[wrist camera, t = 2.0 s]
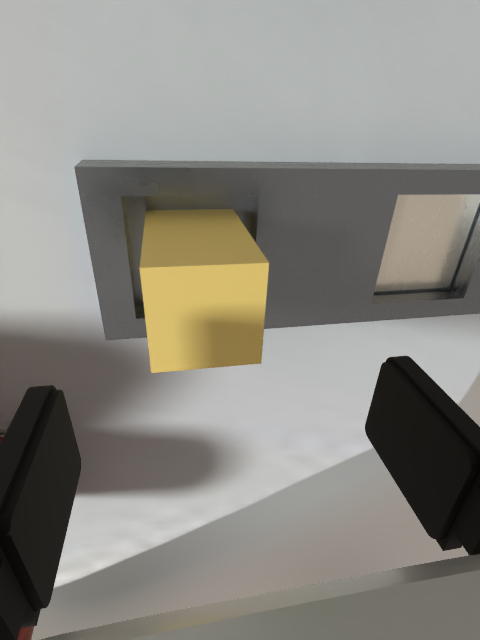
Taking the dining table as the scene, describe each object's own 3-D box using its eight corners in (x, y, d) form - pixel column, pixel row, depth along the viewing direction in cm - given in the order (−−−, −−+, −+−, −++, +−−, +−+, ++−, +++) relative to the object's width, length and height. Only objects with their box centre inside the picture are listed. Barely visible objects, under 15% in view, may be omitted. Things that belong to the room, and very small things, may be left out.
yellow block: (145, 210, 19) (139, 267, 12) (233, 209, 19) (269, 262, 13) (153, 289, 21) (151, 373, 15) (231, 286, 22) (260, 363, 15)
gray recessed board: (82, 160, 18) (74, 166, 16) (511, 164, 22) (540, 170, 20) (109, 321, 22) (105, 340, 20) (459, 299, 26) (480, 313, 25)
